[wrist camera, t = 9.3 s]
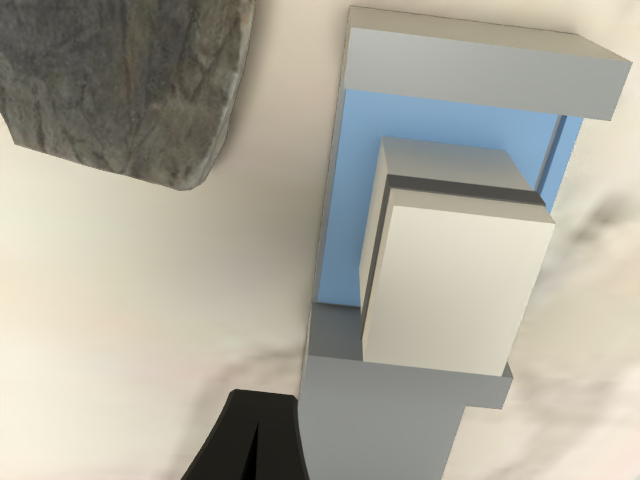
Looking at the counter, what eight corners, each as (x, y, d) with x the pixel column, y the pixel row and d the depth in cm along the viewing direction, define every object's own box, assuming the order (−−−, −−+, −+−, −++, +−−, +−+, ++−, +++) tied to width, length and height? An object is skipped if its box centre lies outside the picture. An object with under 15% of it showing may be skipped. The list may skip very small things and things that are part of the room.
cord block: (469, 281, 21) (502, 377, 16) (357, 268, 21) (361, 362, 16) (507, 149, 18) (559, 222, 14) (380, 134, 18) (392, 203, 14)
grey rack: (436, 503, 29) (448, 580, 25) (287, 487, 28) (279, 563, 25) (593, 36, 17) (652, 65, 14) (349, 5, 17) (351, 27, 14)
